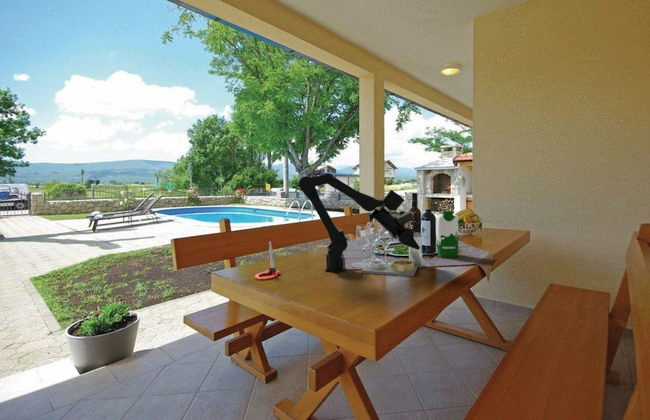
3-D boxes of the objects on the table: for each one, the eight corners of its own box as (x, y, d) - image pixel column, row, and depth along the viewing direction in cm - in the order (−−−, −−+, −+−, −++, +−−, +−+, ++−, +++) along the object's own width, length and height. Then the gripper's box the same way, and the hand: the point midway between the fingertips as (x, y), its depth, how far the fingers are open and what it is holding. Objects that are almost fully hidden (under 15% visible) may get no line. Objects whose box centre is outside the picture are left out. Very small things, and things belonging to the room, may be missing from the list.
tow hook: (268, 282, 117) (283, 274, 125) (264, 247, 115) (280, 241, 123) (250, 280, 121) (265, 272, 129) (246, 246, 119) (262, 240, 127)
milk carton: (439, 258, 140) (438, 211, 138) (435, 253, 149) (434, 210, 147) (460, 257, 139) (460, 211, 137) (455, 253, 148) (454, 209, 146)
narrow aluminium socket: (367, 268, 124) (367, 263, 124) (371, 265, 129) (370, 260, 129) (381, 269, 122) (381, 264, 121) (385, 266, 127) (384, 261, 127)
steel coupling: (408, 267, 128) (407, 234, 126) (410, 264, 132) (409, 232, 131) (421, 268, 126) (420, 234, 125) (422, 264, 130) (422, 232, 129)
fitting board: (361, 273, 122) (360, 270, 122) (368, 265, 132) (368, 263, 132) (413, 276, 115) (412, 273, 115) (416, 268, 125) (416, 266, 125)
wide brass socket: (389, 271, 119) (389, 264, 119) (393, 265, 127) (393, 259, 127) (412, 272, 116) (412, 265, 116) (415, 267, 124) (415, 260, 123)
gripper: (407, 206, 118) (438, 235, 119) (395, 203, 136) (421, 228, 137) (386, 229, 118) (417, 257, 119) (376, 223, 137) (403, 247, 138)
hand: (415, 246), depth 128 cm, fingers open, 9 cm apart
